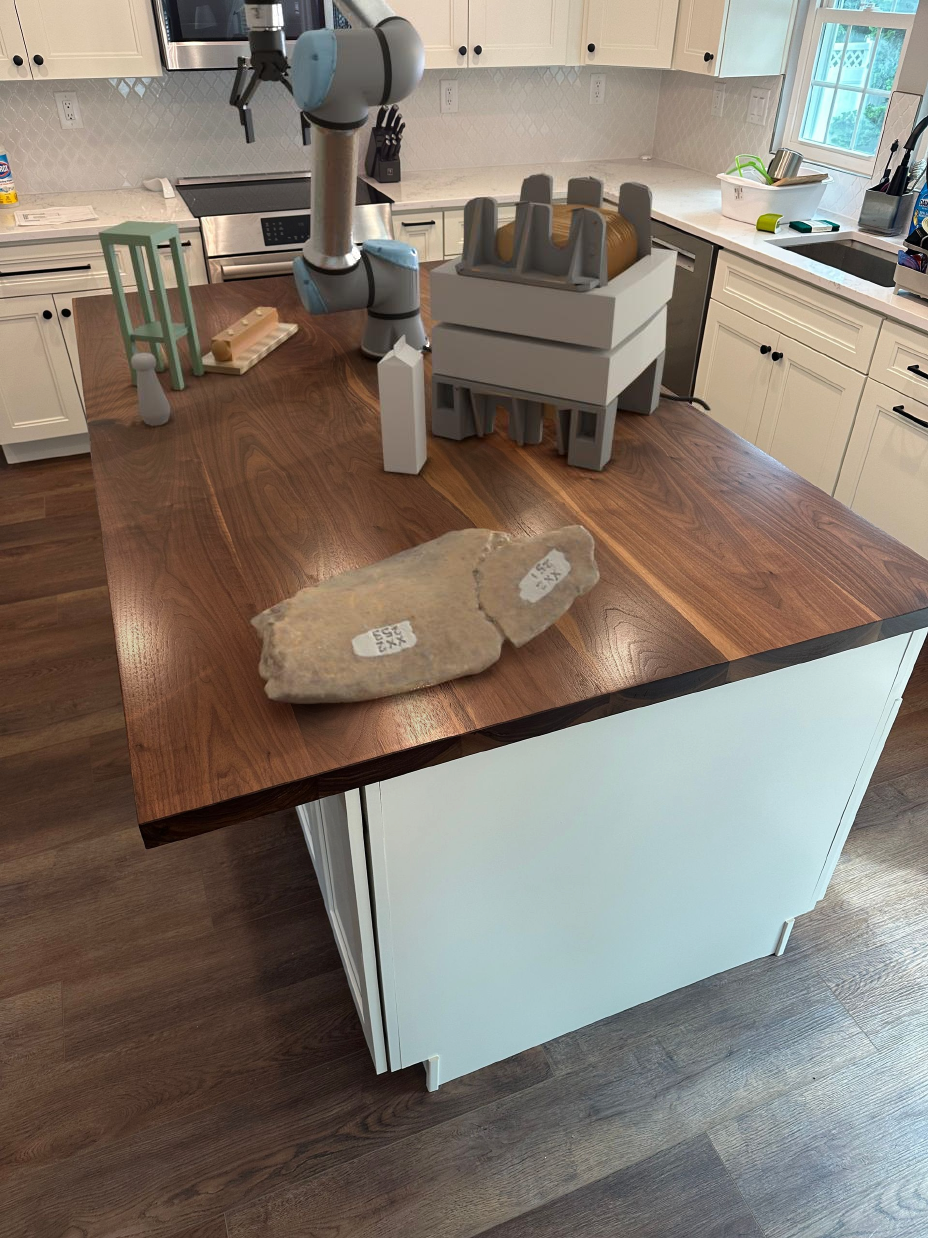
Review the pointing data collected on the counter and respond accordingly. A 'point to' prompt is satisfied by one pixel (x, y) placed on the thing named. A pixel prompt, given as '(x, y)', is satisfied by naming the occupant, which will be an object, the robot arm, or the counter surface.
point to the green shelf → (154, 330)
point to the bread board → (250, 352)
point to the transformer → (551, 318)
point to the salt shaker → (150, 391)
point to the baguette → (244, 333)
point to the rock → (421, 614)
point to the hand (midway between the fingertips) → (278, 143)
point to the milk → (402, 409)
